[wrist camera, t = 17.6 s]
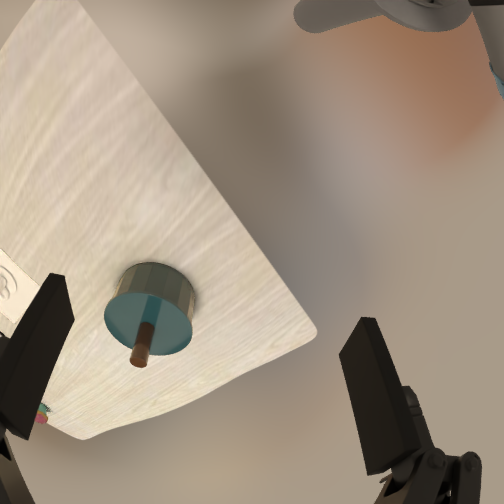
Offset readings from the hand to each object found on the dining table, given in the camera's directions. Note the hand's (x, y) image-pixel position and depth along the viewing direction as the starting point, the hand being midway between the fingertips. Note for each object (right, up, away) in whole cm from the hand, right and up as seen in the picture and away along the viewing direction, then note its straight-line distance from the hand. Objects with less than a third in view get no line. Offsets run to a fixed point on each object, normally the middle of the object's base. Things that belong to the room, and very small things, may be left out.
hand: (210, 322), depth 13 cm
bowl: (-15, -4, +41) cm, 44 cm away
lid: (-15, -9, +34) cm, 38 cm away
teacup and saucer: (-54, -3, +38) cm, 66 cm away
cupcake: (-74, -52, +71) cm, 115 cm away
